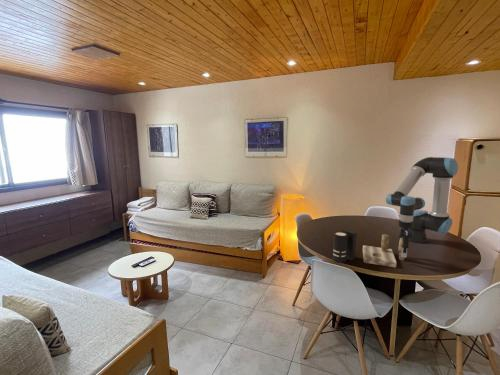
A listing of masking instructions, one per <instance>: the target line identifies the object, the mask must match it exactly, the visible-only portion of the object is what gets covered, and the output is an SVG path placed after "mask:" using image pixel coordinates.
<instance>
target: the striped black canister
mask: <svg viewBox="0 0 500 375" xmlns="http://www.w3.org/2000/svg"><path fill="white" fill-rule="evenodd" d="M332 246H333V247H332V261H333V262H335V263H339V264H345V263H346V261H347V259H349V260H351V261H353V260H355V258H356V246H357V232H355V231H352V230H348V229H345V228H343V229H341V231H335V232H333V245H332Z"/></svg>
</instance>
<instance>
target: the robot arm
mask: <svg viewBox="0 0 500 375" xmlns="http://www.w3.org/2000/svg"><path fill="white" fill-rule="evenodd" d="M458 171H459V164H458V161H457V159H455V158H452V157H441V156H439V157H437V156H434V157H433V156H430V157H429V156H428V157H425V158H422V159H420V160H419V161H417V162H415V164H413V165H412V167H411V168H410V172H409V173H408V175H406V177H405V178H404V180H403V181H402V182H401V183H400V185H398V187H397V189H396V190H395V191H394V192H393V193H388V194H387V195H386V197H385V202H386V204H387V205H389V206H390V205H391V206H394V207H399V214H398V224H397V225H398V227H399V228H400V231H399V236H398V239H399V241H398V244H399V243H400V238H403V246H402V254H401V257H404V258H407V256H408V249H409V242H412V243H418V244H426V243H428V236H427V230H428V231H432V232H436V233H438V234H439V233H440V234H447V233H448V232H449V231H450V230H451V228H452V225H453V219H452V218H451V217H450V214H449V213H448V205H449V195H450V185H451V184H450V183H451V180H452V179H454V176H456V175H457V174H458ZM426 174H431V175H432V178H433V179H434V186H433V197H432V209H431V211H430V212H429V211H428V210H422V209H423V208H424V207H426V200H424V199H423V198H422V197H414V196H410V195H409V194H410V192H411V191H412V189H413V188H414V187H415V186H416V184H417V183H418V182H419V180H420V179H421V178H422V177H424V176H426ZM408 195H409V196H408ZM397 250H398V251H399V248H398V249H397Z"/></svg>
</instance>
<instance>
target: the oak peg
mask: <svg viewBox="0 0 500 375" xmlns="http://www.w3.org/2000/svg"><path fill="white" fill-rule="evenodd" d="M399 241H400V243H399V242H398V249H399V250H398V252H399V253H398V260H399V261H405V258H404V257H401V254H402V246H403V238H400V240H399Z"/></svg>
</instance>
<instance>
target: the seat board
mask: <svg viewBox="0 0 500 375" xmlns="http://www.w3.org/2000/svg"><path fill="white" fill-rule="evenodd" d="M389 241H390V235H389V234H386V233H383V234H381V242H380V243H381V245H380V247H377V246H373V245H372V246H371V245H362V257H363V258H362V260H363V263H365V264H372V265H379V266H384V267H389V268H390V267H391V268H397V260H396V257H395V255H394V252H393V249H392V248H389V245H390V244H389Z"/></svg>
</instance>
